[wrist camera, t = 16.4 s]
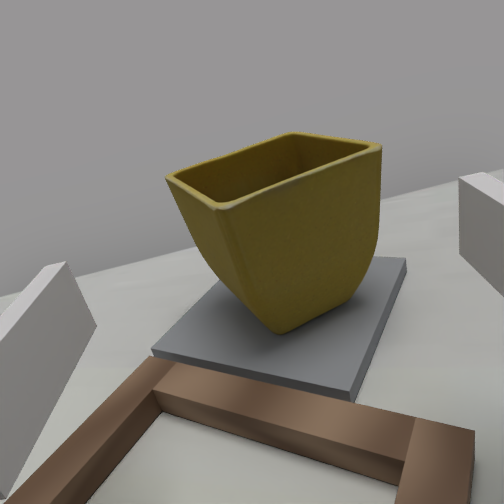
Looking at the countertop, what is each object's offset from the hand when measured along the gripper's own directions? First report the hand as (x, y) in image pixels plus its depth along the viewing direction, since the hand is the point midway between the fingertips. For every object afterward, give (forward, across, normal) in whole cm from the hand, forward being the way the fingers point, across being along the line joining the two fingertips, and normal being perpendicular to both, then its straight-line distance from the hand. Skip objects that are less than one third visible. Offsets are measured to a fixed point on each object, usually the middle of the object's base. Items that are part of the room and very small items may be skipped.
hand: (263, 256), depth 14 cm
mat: (+10, 0, -9) cm, 13 cm away
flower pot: (+9, 0, -8) cm, 12 cm away
